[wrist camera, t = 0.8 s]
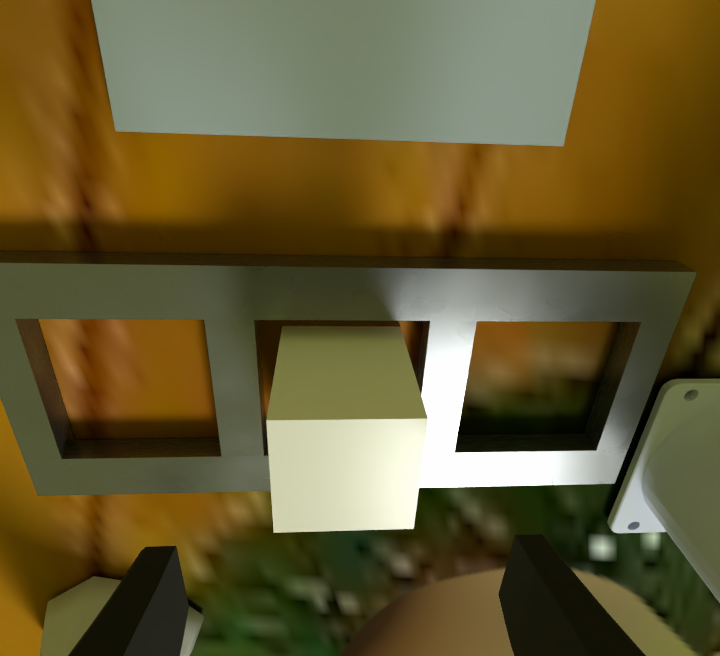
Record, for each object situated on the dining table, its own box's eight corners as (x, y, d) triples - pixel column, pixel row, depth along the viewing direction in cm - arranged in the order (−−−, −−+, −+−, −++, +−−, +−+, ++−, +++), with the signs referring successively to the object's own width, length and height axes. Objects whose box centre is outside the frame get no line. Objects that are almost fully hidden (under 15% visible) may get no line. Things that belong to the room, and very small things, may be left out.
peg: (400, 325, 16) (428, 418, 12) (392, 418, 18) (413, 528, 14) (282, 325, 16) (266, 420, 12) (286, 420, 18) (273, 532, 14)
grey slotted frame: (676, 261, 16) (697, 271, 15) (601, 465, 20) (614, 483, 19) (-28, 250, 14) (-52, 262, 13) (51, 475, 18) (37, 495, 17)
